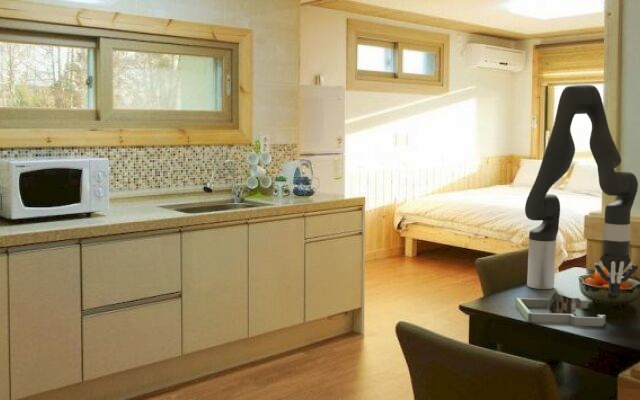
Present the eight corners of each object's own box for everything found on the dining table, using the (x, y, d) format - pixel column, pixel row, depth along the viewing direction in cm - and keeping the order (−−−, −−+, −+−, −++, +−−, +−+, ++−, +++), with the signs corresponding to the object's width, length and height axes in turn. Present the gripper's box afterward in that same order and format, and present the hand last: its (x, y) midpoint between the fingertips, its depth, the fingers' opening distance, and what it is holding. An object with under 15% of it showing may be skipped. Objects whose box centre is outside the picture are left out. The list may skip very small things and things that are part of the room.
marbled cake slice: (579, 323, 200) (582, 289, 207) (555, 315, 201) (560, 282, 208) (566, 336, 208) (570, 303, 215) (544, 329, 209) (548, 296, 216)
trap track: (514, 303, 220) (514, 296, 219) (584, 305, 218) (584, 297, 217) (529, 324, 197) (530, 315, 197) (607, 326, 195) (608, 318, 195)
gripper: (634, 236, 206) (631, 292, 208) (589, 236, 208) (587, 291, 209) (644, 240, 199) (641, 298, 201) (597, 239, 200) (595, 297, 202)
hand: (613, 294), depth 205 cm, fingers closed
